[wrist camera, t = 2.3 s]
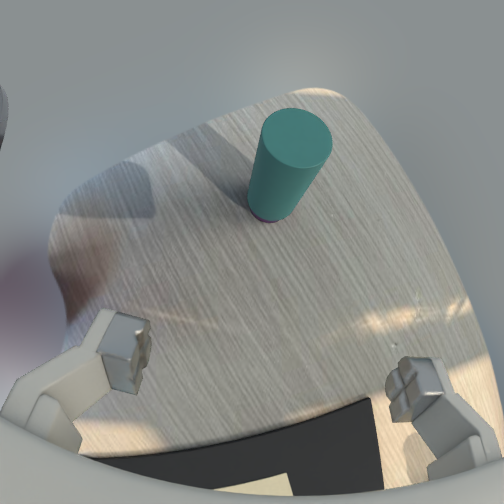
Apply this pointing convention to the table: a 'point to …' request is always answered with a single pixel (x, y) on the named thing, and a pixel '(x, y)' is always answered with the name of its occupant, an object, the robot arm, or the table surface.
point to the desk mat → (279, 459)
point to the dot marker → (286, 162)
